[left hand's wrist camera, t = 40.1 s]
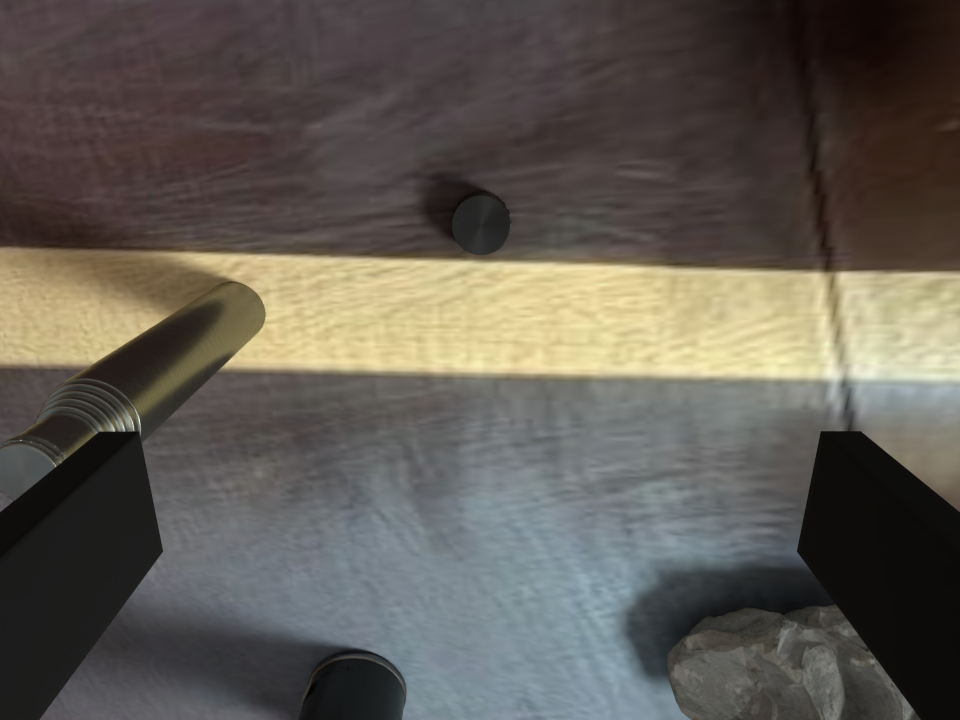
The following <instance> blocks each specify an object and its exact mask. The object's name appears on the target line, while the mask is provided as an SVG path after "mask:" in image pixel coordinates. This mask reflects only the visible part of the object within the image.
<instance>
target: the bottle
mask: <svg viewBox="0 0 960 720" xmlns="http://www.w3.org/2000/svg"><path fill="white" fill-rule="evenodd" d="M264 321H265V308H264V305H263V302H262V300H261V299H260V297H259V296H258V295H257V294H256V293H255V292H254V291H253V290H252V289H251V288H249V287H247V286H245V285H243V284H240V283H234V282H228V283H223V284H220V285H218V286H217V287H215V288H213V289H212V290H210V291H209V292H207V293H205V294H204V295H202V296H201V297H199V298H198V299H196V300H194V301H193V302H191V303H190V304H188V305H186V306H185V307H183V308H182V309H180V310H178V311H177V312H175V313H174V314H172V315H170V316H169V317H167V318H166V319H164V320H163V321H161V322H159V323H158V324H156V325H155V326H153V327H151V328H150V329H148V330H147V331H145V332H143V333H142V334H140V335H139V336H137V337H136V338H134V339H132V340H131V341H129V342H128V343H126V344H124V345H123V346H121V347H120V348H118V349H116V350H115V351H113V352H112V353H110V354H109V355H107V356H105V357H104V358H102V359H101V360H99V361H97V362H96V363H94V364H93V365H91V366H89V367H88V368H86V369H85V370H83V371H81V372H80V373H78V374H77V375H75V376H74V377H72V378H70V379H69V380H67V381H66V382H64V383H62V384H61V385H59V386H58V387H57V388H56V389H55V390H54V391H53V392H52V393H51V394H50V395H49V396H48V398H47V399H46V400H45V402H44V404H43V407H42V409H41V411H40V413H39V415H38V417H37V419H36V421H35V423H34V425H33V426H31V427H30V428H29V429H27V430H26V431H24V432H23V433H21V434H20V435H18V436H16V437H13V438H10V439H8V440H7V441H6V442H4V443H2V444H1V445H0V492H1V493H3V494H4V495H5V496H6V497H8V498H9V499H11V500H13V501H15V500H16V499H17V498H18V497H20V496H21V495H22V494H23V493H25V492H26V491H27V490H28V489H29V488H31V487H32V486H33V485H34V484H36V483H37V482H38V481H39V480H40V479H42V478H43V477H44V476H45V475H47V474H48V473H49V472H50V471H51V470H53V469H54V468H55V467H56V466H58V465H59V464H60V463H61V462H62V461H64V460H65V459H66V458H67V457H69V456H70V455H71V454H72V453H74V452H75V451H76V450H77V449H78V448H80V447H81V446H82V445H83V444H85V443H86V442H87V441H88V440H89V439H91V438H92V437H93V436H94V435H96V434H97V433H98V432H99V431H139V433H140V438H141V443H143V442H144V441H145V440H146V439H147V438H148V437H149V436H150V435H151V434H152V433H153V432H154V431H155V430H156V429H157V428H158V427H159V426H161V425H162V424H163V423H164V422H165V421H166V420H167V419H168V418H169V417H170V416H171V415H172V414H173V413H174V412H175V411H176V410H177V409H178V408H179V407H180V406H182V405H183V404H184V403H185V402H186V401H187V400H188V399H189V398H190V397H191V396H192V395H193V394H194V393H195V392H196V391H197V390H198V389H199V388H200V387H201V386H202V385H204V384H205V383H206V382H207V381H208V380H209V379H210V378H211V377H212V376H213V375H214V374H215V373H216V372H217V371H218V370H219V369H220V368H221V367H222V366H223V365H224V364H226V363H227V362H228V361H229V360H230V359H231V358H232V357H233V356H234V355H235V354H236V353H237V352H238V351H239V350H240V349H241V348H242V347H243V346H244V345H245V344H247V343H248V342H249V341H250V340H251V339H252V338H253V337H254V336H255V335H256V334H257V333H258V332H259V331H260V330H261V328H262V326H263V324H264Z"/></svg>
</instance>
